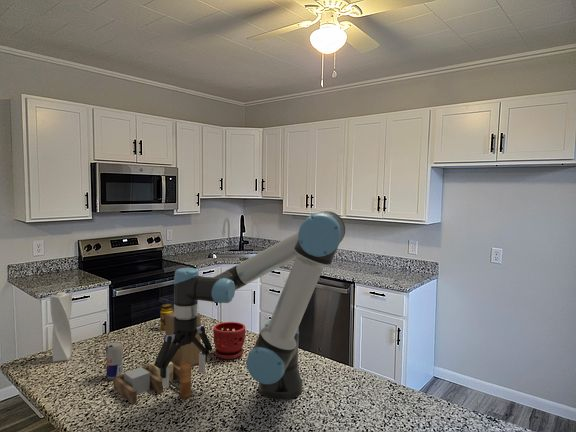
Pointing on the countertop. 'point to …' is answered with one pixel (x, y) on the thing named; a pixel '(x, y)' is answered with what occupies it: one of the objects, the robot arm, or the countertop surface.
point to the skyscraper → (61, 326)
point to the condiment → (164, 316)
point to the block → (138, 379)
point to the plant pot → (229, 339)
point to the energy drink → (114, 360)
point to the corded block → (184, 377)
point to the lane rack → (131, 393)
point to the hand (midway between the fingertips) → (184, 379)
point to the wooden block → (187, 351)
